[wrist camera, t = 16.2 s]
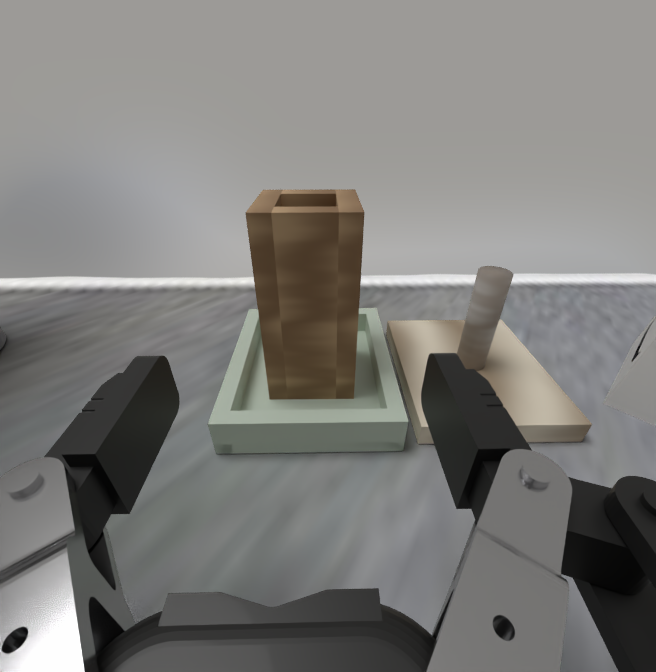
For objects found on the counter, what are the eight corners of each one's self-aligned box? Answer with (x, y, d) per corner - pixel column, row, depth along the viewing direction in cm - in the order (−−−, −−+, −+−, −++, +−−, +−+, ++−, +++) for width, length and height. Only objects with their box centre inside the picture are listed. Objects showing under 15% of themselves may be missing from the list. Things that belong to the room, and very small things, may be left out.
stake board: (417, 444, 21) (443, 323, 16) (386, 335, 31) (396, 241, 26) (581, 441, 21) (654, 321, 16) (496, 334, 31) (526, 240, 26)
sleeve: (269, 399, 23) (245, 212, 16) (278, 350, 27) (263, 189, 21) (353, 398, 23) (364, 212, 16) (348, 349, 27) (355, 189, 21)
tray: (216, 453, 20) (207, 424, 19) (252, 333, 31) (249, 309, 30) (402, 451, 20) (408, 421, 19) (374, 332, 31) (376, 308, 30)
